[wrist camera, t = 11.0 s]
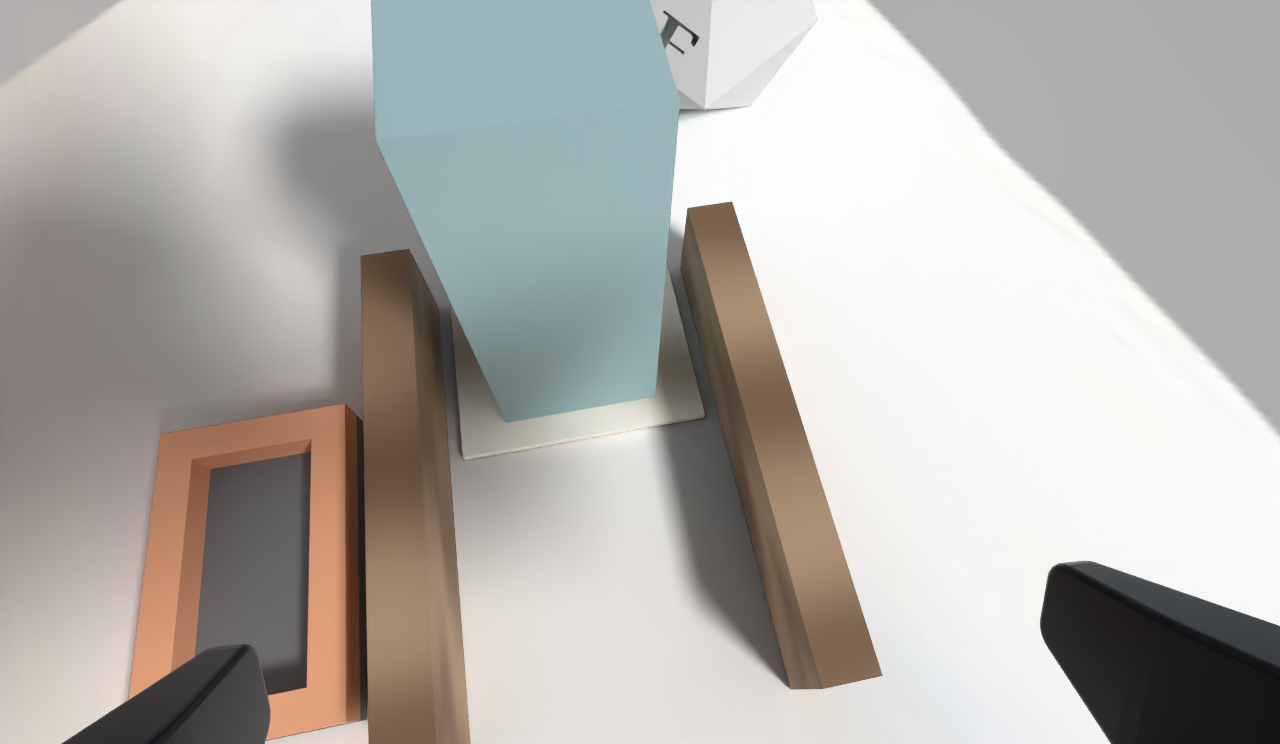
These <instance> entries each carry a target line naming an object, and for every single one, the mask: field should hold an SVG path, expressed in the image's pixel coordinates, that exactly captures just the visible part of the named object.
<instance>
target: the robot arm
mask: <svg viewBox="0 0 1280 744" xmlns="http://www.w3.org/2000/svg"><path fill="white" fill-rule="evenodd" d="M1040 628H1041V633H1042V637H1043V639H1044V641H1045V643H1046V645H1047V647H1048V649H1049V650H1050V652H1051V653H1052V655H1053V656H1054V658H1055V659H1056V661H1057V662H1058V664H1059V665H1060V667H1061V668H1062V670H1063V671H1064V673H1065V674H1066V676H1067V677H1068V679H1069V680H1070V682H1071V684H1072V685H1073V687H1074V688H1075V690H1076V691H1077V693H1078V694H1079V696H1080V697H1081V699H1082V700H1083V702H1084V703H1085V705H1086V706H1087V708H1088V709H1089V711H1090V712H1091V714H1092V716H1093V717H1094V719H1095V720H1096V722H1097V723H1098V725H1099V726H1100V728H1101V729H1102V731H1103V732H1104V734H1105V735H1106V737H1107V738H1108V740H1109V741H1110V743H1111V744H1280V626H1278V625H1275V624H1273V623H1270V622H1267V621H1264V620H1261V619H1258V618H1255V617H1252V616H1249V615H1246V614H1243V613H1241V612H1238V611H1235V610H1232V609H1229V608H1226V607H1223V606H1220V605H1217V604H1214V603H1212V602H1209V601H1206V600H1203V599H1200V598H1197V597H1194V596H1191V595H1188V594H1185V593H1182V592H1180V591H1177V590H1174V589H1171V588H1168V587H1165V586H1162V585H1159V584H1156V583H1153V582H1151V581H1148V580H1145V579H1142V578H1139V577H1136V576H1133V575H1130V574H1127V573H1124V572H1122V571H1119V570H1116V569H1113V568H1110V567H1107V566H1104V565H1101V564H1098V563H1095V562H1092V561H1077V562H1067V563H1059V564H1057V565H1055V566H1053V567H1052V569H1051V570H1050V571H1049V574H1048V578H1047V584H1046V590H1045V595H1044V601H1043V607H1042V613H1041V619H1040ZM270 717H271V712H270V703H269V699H268V695H267V690H266V686H265V682H264V678H263V673H262V669H261V665H260V660H259V657H258V654H257V651H256V650H255V648H254V647H252V646H250V645H248V644H239V645H229V646H218V647H212V648H209V649H206V650H205V651H203V652H201V653H200V654H198V655H197V656H195V657H194V658H192V659H191V660H189V661H187V662H186V663H184V664H183V665H181V666H180V667H178V668H177V669H175V670H174V671H172V672H171V673H169V674H168V675H166V676H165V677H163V678H161V679H160V680H158V681H157V682H155V683H154V684H152V685H151V686H149V687H148V688H146V689H145V690H143V691H142V692H140V693H138V694H137V695H135V696H134V697H132V698H131V699H129V700H128V701H126V702H125V703H123V704H122V705H120V706H119V707H117V708H115V709H114V710H112V711H111V712H109V713H108V714H106V715H105V716H103V717H102V718H100V719H99V720H97V721H96V722H94V723H93V724H91V725H89V726H88V727H86V728H85V729H83V730H82V731H80V732H79V733H77V734H76V735H74V736H73V737H71V738H70V739H68V740H66V741H65V742H63V743H62V744H265V741H266V737H267V734H268V731H269V726H270Z"/></svg>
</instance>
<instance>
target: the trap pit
mask: <svg viewBox="0 0 1280 744" xmlns="http://www.w3.org/2000/svg"><path fill="white" fill-rule="evenodd" d="M239 644H248V645H250V646H252V647H254V648H255V650H256V651H257V654H258V657H259V660H260V665H261V669H262V673H263V678H264V682H265V686H266V690H267V695H268V699H269V703H270V712H271V717H270V726H269V731H268V734H267V737H266V741H267V740H272V739H276V738H281V737H286V736H291V735H296V734H300V733H305V732H310V731H315V730H319V729H324V728H329V727H334V726H338V725H343V724H348V723H353V722H357V721H362V720H367V693H366V630H365V566H364V503H363V440H362V420H361V419H360V418H359V417H358V416H357V415H356V414H355V413H354V412H353V411H352V410H351V409H350V408H349V407H348V406H347V405H346V404H339V405H333V406H327V407H321V408H315V409H308V410H302V411H296V412H290V413H284V414H278V415H272V416H266V417H260V418H254V419H248V420H242V421H236V422H230V423H224V424H218V425H212V426H206V427H200V428H194V429H188V430H182V431H176V432H170V433H164V434H161V435H160V443H159V452H158V460H157V468H156V476H155V485H154V493H153V501H152V509H151V517H150V526H149V534H148V542H147V550H146V559H145V567H144V575H143V583H142V591H141V600H140V608H139V616H138V624H137V633H136V641H135V649H134V657H133V665H132V674H131V682H130V690H129V698H128V700H129V699H131V698H132V697H134V696H135V695H137V694H138V693H140V692H142V691H143V690H145V689H146V688H148V687H149V686H151V685H152V684H154V683H155V682H157V681H158V680H160V679H161V678H163V677H165V676H166V675H168V674H169V673H171V672H172V671H174V670H175V669H177V668H178V667H180V666H181V665H183V664H184V663H186V662H187V661H189V660H191V659H192V658H194V657H195V656H197V655H198V654H200V653H201V652H203V651H205V650H206V649H209V648H212V647H218V646H229V645H239Z"/></svg>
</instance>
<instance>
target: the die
mask: <svg viewBox="0 0 1280 744" xmlns="http://www.w3.org/2000/svg"><path fill="white" fill-rule="evenodd" d="M650 2H651V6H652V9H653V12H654V16H655V19H656V22H657V26H658V29H659V32H660V35H661V39H662V42H663V45H664V49H665V52H666V55H667V59H668V62H669V65H670V69H671V72H672V75H673V78H674V82H675V85H676V88H677V92H678V95H679V98H680V107H679V109H718V108H732V107H746V106H751V105H752V104H753V102H754V101H755V100H756V98H757V97H758V96H759V95H760V93H761V92H762V91H763V89H764V88H765V87H766V86H767V84H768V83H769V82H770V80H771V79H772V78H773V77H774V75H775V74H776V73H777V71H778V70H779V69H780V68H781V66H782V65H783V64H784V62H785V61H786V60H787V59H788V57H789V56H790V55H791V53H792V52H793V51H794V49H795V48H796V47H797V46H798V44H799V43H800V42H801V40H802V39H803V38H804V37H805V35H806V34H807V33H808V31H809V30H810V29H811V28H812V26H813V25H814V24H815V22H816V21H817V16H816V13H815V9H814V5H813V2H812V0H650Z"/></svg>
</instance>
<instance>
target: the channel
mask: <svg viewBox="0 0 1280 744" xmlns="http://www.w3.org/2000/svg"><path fill="white" fill-rule="evenodd" d="M680 270H681V273H682V277H683V281H684V285H685V289H686V293H687V296H688V300H689V304H690V308H691V312H692V315H693V319H694V323H695V327H696V331H697V335H698V338H699V342H700V346H701V350H702V354H703V357H704V361H705V365H706V369H707V373H708V377H709V380H710V384H711V388H712V392H713V396H714V400H715V403H716V407H717V411H718V415H719V419H720V422H721V426H722V430H723V434H724V438H725V442H726V445H727V449H728V453H729V457H730V461H731V465H732V468H733V472H734V476H735V480H736V484H737V487H738V491H739V495H740V499H741V503H742V507H743V510H744V514H745V518H746V522H747V526H748V529H749V533H750V537H751V541H752V545H753V549H754V552H755V556H756V560H757V564H758V568H759V572H760V575H761V579H762V583H763V587H764V591H765V594H766V598H767V602H768V606H769V610H770V614H771V617H772V621H773V625H774V629H775V633H776V636H777V640H778V644H779V648H780V652H781V656H782V659H783V663H784V667H785V671H786V675H787V679H788V682H789V686H790V689H825V688H829V687H834V686H838V685H843V684H847V683H852V682H856V681H861V680H866V679H870V678H875V677H879V676H882V673H881V669H880V666H879V663H878V660H877V657H876V654H875V651H874V647H873V644H872V641H871V638H870V635H869V632H868V629H867V625H866V622H865V619H864V616H863V613H862V610H861V606H860V603H859V600H858V597H857V594H856V591H855V588H854V584H853V581H852V578H851V575H850V572H849V569H848V566H847V562H846V559H845V556H844V553H843V550H842V547H841V544H840V540H839V537H838V534H837V531H836V528H835V525H834V521H833V518H832V515H831V512H830V509H829V506H828V503H827V499H826V496H825V493H824V490H823V487H822V484H821V481H820V477H819V474H818V471H817V468H816V465H815V462H814V459H813V455H812V452H811V449H810V446H809V443H808V440H807V436H806V433H805V430H804V427H803V424H802V421H801V418H800V414H799V411H798V408H797V405H796V402H795V399H794V396H793V392H792V389H791V386H790V383H789V380H788V377H787V373H786V370H785V367H784V364H783V361H782V358H781V355H780V351H779V348H778V345H777V342H776V339H775V336H774V333H773V329H772V326H771V323H770V320H769V317H768V314H767V311H766V307H765V304H764V301H763V298H762V295H761V292H760V288H759V285H758V282H757V279H756V276H755V273H754V270H753V266H752V263H751V260H750V257H749V254H748V251H747V248H746V244H745V241H744V238H743V235H742V232H741V229H740V226H739V222H738V219H737V216H736V213H735V210H734V207H733V203H732V202H726V203H720V204H713V205H706V206H699V207H692V208H688V209H687V217H686V226H685V234H684V243H683V251H682V259H681V268H680ZM450 307H451V319H452V331H453V343H454V355H455V367H456V379H457V391H458V404H459V416H460V428H461V440H462V452H463V458H464V459H465V460H469V459H474V458H480V457H486V456H491V455H497V454H503V453H508V452H514V451H520V450H525V449H531V448H536V447H542V446H548V445H553V444H559V443H565V442H570V441H576V440H582V439H587V438H593V437H599V436H604V435H610V434H616V433H621V432H627V431H633V430H638V429H644V428H650V427H655V426H661V425H667V424H672V423H678V422H684V421H689V420H695V419H700V418H704V417H705V412H704V408H703V404H702V400H701V396H700V392H699V388H698V384H697V380H696V376H695V372H694V369H693V365H692V361H691V357H690V353H689V349H688V345H687V341H686V337H685V333H684V329H683V325H682V321H681V317H680V313H679V309H678V305H677V301H676V297H675V293H674V289H673V285H672V281H671V277H670V273H669V270H668V266H667V267H666V273H665V285H664V297H663V308H662V320H661V332H660V344H659V356H658V368H657V379H656V391H655V397H652V398H646V399H641V400H635V401H629V402H623V403H618V404H612V405H606V406H600V407H595V408H589V409H583V410H577V411H572V412H566V413H560V414H554V415H548V416H543V417H537V418H531V419H525V420H520V421H514V422H508V423H506V421H505V419H504V417H503V415H502V413H501V410H500V408H499V406H498V404H497V402H496V400H495V397H494V395H493V393H492V391H491V389H490V387H489V384H488V382H487V380H486V378H485V376H484V374H483V371H482V369H481V367H480V365H479V363H478V361H477V358H476V356H475V354H474V352H473V350H472V348H471V346H470V343H469V341H468V339H467V337H466V335H465V333H464V330H463V328H462V326H461V324H460V322H459V320H458V317H457V315H456V313H455V311H454V309H453V307H452V304H451V302H450ZM361 311H362V371H363V431H364V492H365V552H366V613H367V673H368V733H369V744H470V734H469V720H468V707H467V693H466V679H465V666H464V652H463V639H462V625H461V612H460V598H459V584H458V571H457V557H456V544H455V530H454V517H453V503H452V489H451V476H450V462H449V449H448V435H447V422H446V408H445V394H444V381H443V367H442V354H441V340H440V327H439V313H438V306H437V304H436V302H435V300H434V298H433V296H432V294H431V292H430V290H429V288H428V286H427V284H426V282H425V280H424V278H423V276H422V274H421V272H420V270H419V268H418V266H417V264H416V262H415V260H414V258H413V256H412V254H411V252H410V250H409V249H405V250H398V251H391V252H385V253H378V254H371V255H364V256H361Z"/></svg>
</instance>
